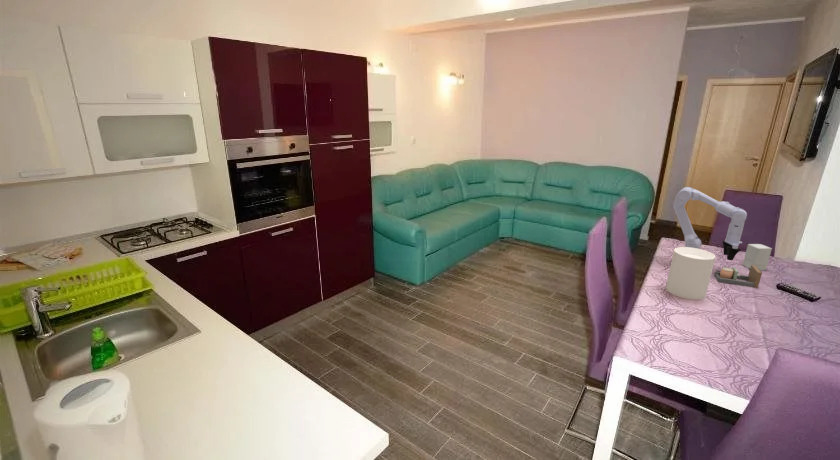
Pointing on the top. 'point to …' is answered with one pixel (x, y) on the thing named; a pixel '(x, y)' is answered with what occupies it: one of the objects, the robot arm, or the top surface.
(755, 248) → the supplement box
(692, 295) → the canister
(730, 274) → the terracotta jar
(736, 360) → the top surface
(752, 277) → the pusher lane
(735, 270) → the pusher paddle
